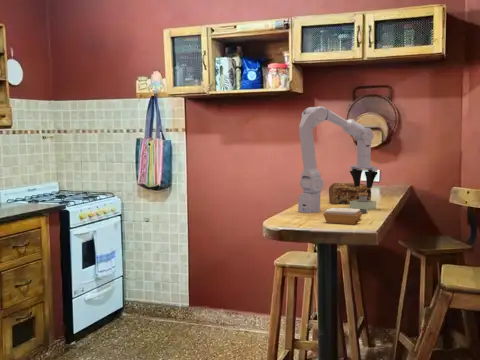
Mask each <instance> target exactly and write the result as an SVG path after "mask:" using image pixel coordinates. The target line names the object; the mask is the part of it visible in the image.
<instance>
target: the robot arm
mask: <svg viewBox="0 0 480 360" xmlns="http://www.w3.org/2000/svg"><path fill="white" fill-rule="evenodd" d="M325 121H328V122H330V123H333V124H334V125H336V126H339V127H341V129H342V131H343V132H344V133H345V134H348V135H351V136H352V137H354V139H355V140H356V142H357V143H356V145H357V147H356V165H355V164H350V170H349V173H350V176H351V177H352V180H353V183H354V185H355V187H359V186H360V184H361V177H362V174H363V171H364V175H365V179H366V185H367V188H371V189H372V188H373V184H374V181H375V178H376V176H377V175H378V166H373V165H371V163H372V162H371V155H372V154H371V153H372V152H371V151H372V150H371V149H372V141H373V139H374V137H375V134H374V132H373V130H372V128H370V127H365V126H364V124H362V123H361V124H360V123H358V122H356V120H355V119H354V118H352V119H351V118H350V119H349V118H348V119H344V118H343V117H341V116H340V115H339V114H336V113H335V112H333V111H332V110H331V109H329V108H325V106H322V105H319V106H310V107H307V108H305V109H304V111H303V112H302V113H301V120H300V122H299V124H298V131H299V132H298V133H299V141H300V142H299V143H300V148H301V158H302V165H303V166H302V167H303V170H302V172H301V174H300V175H301V177H300V178H301V179H300V181H299V185H300V187H301V189H302V193H301V194H300V195H299V197H298V198H297V199H298V200H297V201H298V203H297V204H298V205H297V206H298V208H297V212H298V213H305V214H314V213H320V212H321V193H322V190H323V189H324V185H325V183H324V182H325V181H324V180H323V179H322V176H321V172H320V170H319V169H318V167H317V159H316V158H317V157H316V149H315V142H314V141H315V140H314V132H313V131H314V130H315V129H316V127H317V126H318V125H320V124H322V123H323V122H325Z"/></svg>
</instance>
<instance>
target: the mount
mask: <svg viewBox="0 0 480 360" xmlns="http://www.w3.org/2000/svg"><path fill="white" fill-rule="evenodd" d="M351 209H357V208H351ZM360 212H362V215H366V214H367V215H368V213H369V212H368V210H367V209H360Z"/></svg>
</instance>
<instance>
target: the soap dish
mask: <svg viewBox="0 0 480 360" xmlns="http://www.w3.org/2000/svg"><path fill="white" fill-rule="evenodd" d="M362 215H363V214H362V212H360V209H351V208H350V207H349V208H348V207H345V208H344V207H331V208H328V209H326V210H325V213H323V218H324V219H325V222H326V223H327V224H343V225H345V224H346V225H354V224H355V225H356V224H358V223H359V222H360V221H359V220H361V218H362Z"/></svg>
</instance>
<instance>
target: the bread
mask: <svg viewBox="0 0 480 360" xmlns="http://www.w3.org/2000/svg"><path fill="white" fill-rule="evenodd" d="M359 193H368V195H367V200H370V201H372V188H367V183H365V184H363V183H360V186H359V187H355V185H354V182H334V183H331V184H330V185H329V187H328V201H329V203H331V204H332V205H337V204H340V205H350V201H354V200H359Z"/></svg>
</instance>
